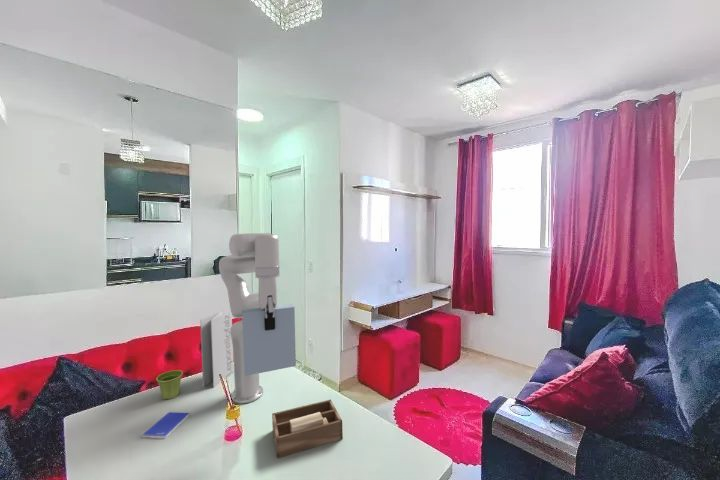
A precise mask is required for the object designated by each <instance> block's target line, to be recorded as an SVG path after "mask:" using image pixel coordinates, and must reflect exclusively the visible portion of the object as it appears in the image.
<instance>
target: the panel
mask: <svg viewBox="0 0 720 480" xmlns="http://www.w3.org/2000/svg"><path fill="white" fill-rule="evenodd" d="M266 308H268V307H266ZM295 310H296V309H295V306H294V304H293V303H290V304H282V305H277V306H276V308H274V317H275V329H274V330H267V331H265V323H264V318H265V308H263V310H262V309H260V308H254V309H246V310H242V318H241V319H242V320H243V349H244V374H245V376H248V375H253V374H258V373H259V374H263V373H267V372H272V371H273V372H274V371H277V370H282V369H287V368H293V367H296V365H297V362H296V361H297V360H296V359H297V358H296V356H297V355H296V351H297V350H296V324H295V323H296V318H295V315H296V314H295ZM267 311H268V310H267Z"/></svg>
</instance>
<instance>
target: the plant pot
mask: <svg viewBox="0 0 720 480" xmlns="http://www.w3.org/2000/svg"><path fill="white" fill-rule="evenodd" d="M183 374H184V372H183V370H180V369H177V370H173V369H172V370H168V371H165V372H163V373H161V374H159V375H157V377H156V378H155V380H156V381H157V384H158V386H159V389H160V394H161V399H162V400H167V399H169V400H171V399H173V398H174V399H175V398H176V397H177V396H178V395H179V394H180V390H181V389H180V387H181V380H182V377H183Z"/></svg>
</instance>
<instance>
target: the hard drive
mask: <svg viewBox="0 0 720 480" xmlns="http://www.w3.org/2000/svg"><path fill="white" fill-rule="evenodd" d="M189 416H190V413H189V412H177V411H176V412H175V411H174V412H173V411H172V412H171V411H169V412H167V413H166V414H165V415H164V416H163V417H161V419H159V420H158V421H156V423H155V424H154V425H152V426H151V427H150V428H149V429H147V430H146V431H145V432H144V433H143V434H142V435H141V438H142V437H150V438H149V439H166V438H167V437H169V435H170V434H171V433H173V431H174V430H175V429H177V427H179V426H180V425H181V423H183V422H184V421H185V420H186V419H187V418H188V417H189ZM166 436H167V437H166ZM165 437H166V438H165Z"/></svg>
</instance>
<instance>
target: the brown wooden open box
mask: <svg viewBox="0 0 720 480" xmlns="http://www.w3.org/2000/svg"><path fill="white" fill-rule="evenodd" d="M318 412H320V413H321V415H322V417H323V418H325V417H326V419H327V421H328V423H327V424H323V425H320V426H316V427H312V428H309V429H305V430H301V431H297V432H294V433H290V420H292V419H296V418H300V417H303V416H307V415H310V414H314V413H318ZM271 417H272V421H271V422H272V435H273V440H274V447H275V448H274V449H275V453H276V458H277V459H280V458H283V457H286V456H290V455H293V454H297V453H300V452H302V451H306V450H307V451H308V450H310V449H313V448H317V447H320V446H323V445H324V446H325V445H326V444H330V443H333V442H334V443H335V442H337V441H340V440H343V434H344V433H343V420H342V418H341V417H340V414H339V412H338V411H337V408H336V407H335V405H334V402H333V401H332V399H327V400H323V401H319V402H315V403H311V404H310V403H309V404H306V405H302V406H297V407H294V408H290V409H286V410H282V411H277V412H273V413H272V414H271Z"/></svg>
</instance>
